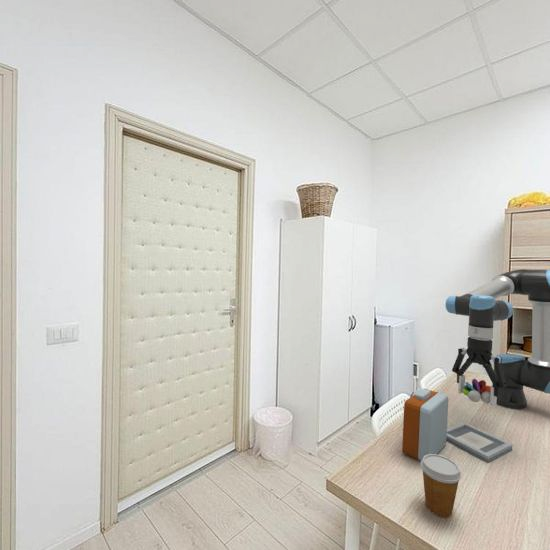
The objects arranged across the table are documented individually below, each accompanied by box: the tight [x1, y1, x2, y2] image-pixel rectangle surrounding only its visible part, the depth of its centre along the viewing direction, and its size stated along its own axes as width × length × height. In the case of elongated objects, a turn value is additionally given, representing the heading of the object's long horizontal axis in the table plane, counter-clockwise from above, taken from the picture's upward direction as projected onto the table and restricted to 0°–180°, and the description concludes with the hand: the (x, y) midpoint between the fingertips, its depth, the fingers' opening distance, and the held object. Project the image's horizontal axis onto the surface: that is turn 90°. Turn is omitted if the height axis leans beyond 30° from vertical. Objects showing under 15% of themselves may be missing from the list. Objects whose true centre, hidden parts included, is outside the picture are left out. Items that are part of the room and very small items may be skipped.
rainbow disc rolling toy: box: [462, 378, 492, 404], centre depth 113 cm, size 8×10×7 cm
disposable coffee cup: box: [420, 454, 462, 518], centre depth 82 cm, size 10×10×12 cm
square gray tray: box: [446, 421, 513, 464], centre depth 113 cm, size 16×17×2 cm
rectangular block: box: [401, 387, 449, 462], centre depth 109 cm, size 18×9×21 cm, turn 134°
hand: (476, 398), depth 113 cm, fingers closed on rainbow disc rolling toy, 10 cm apart
